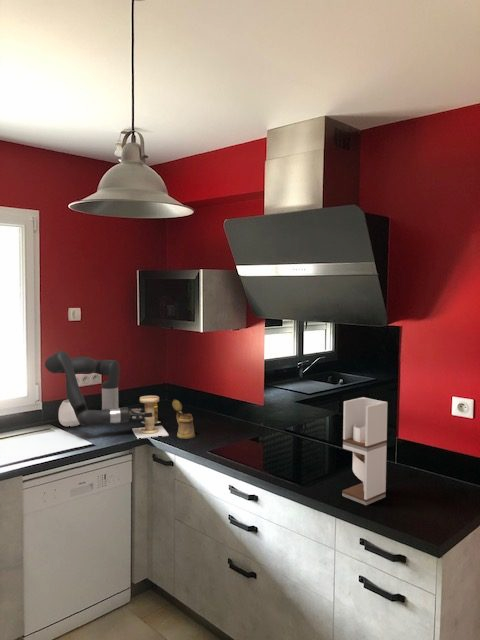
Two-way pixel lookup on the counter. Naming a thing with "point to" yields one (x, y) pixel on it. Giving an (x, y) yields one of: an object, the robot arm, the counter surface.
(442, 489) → the counter surface
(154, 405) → the condiment
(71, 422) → the white faceted vase
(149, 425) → the wooden spool
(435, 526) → the counter surface
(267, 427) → the counter surface
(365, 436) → the display case
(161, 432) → the mat
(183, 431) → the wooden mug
